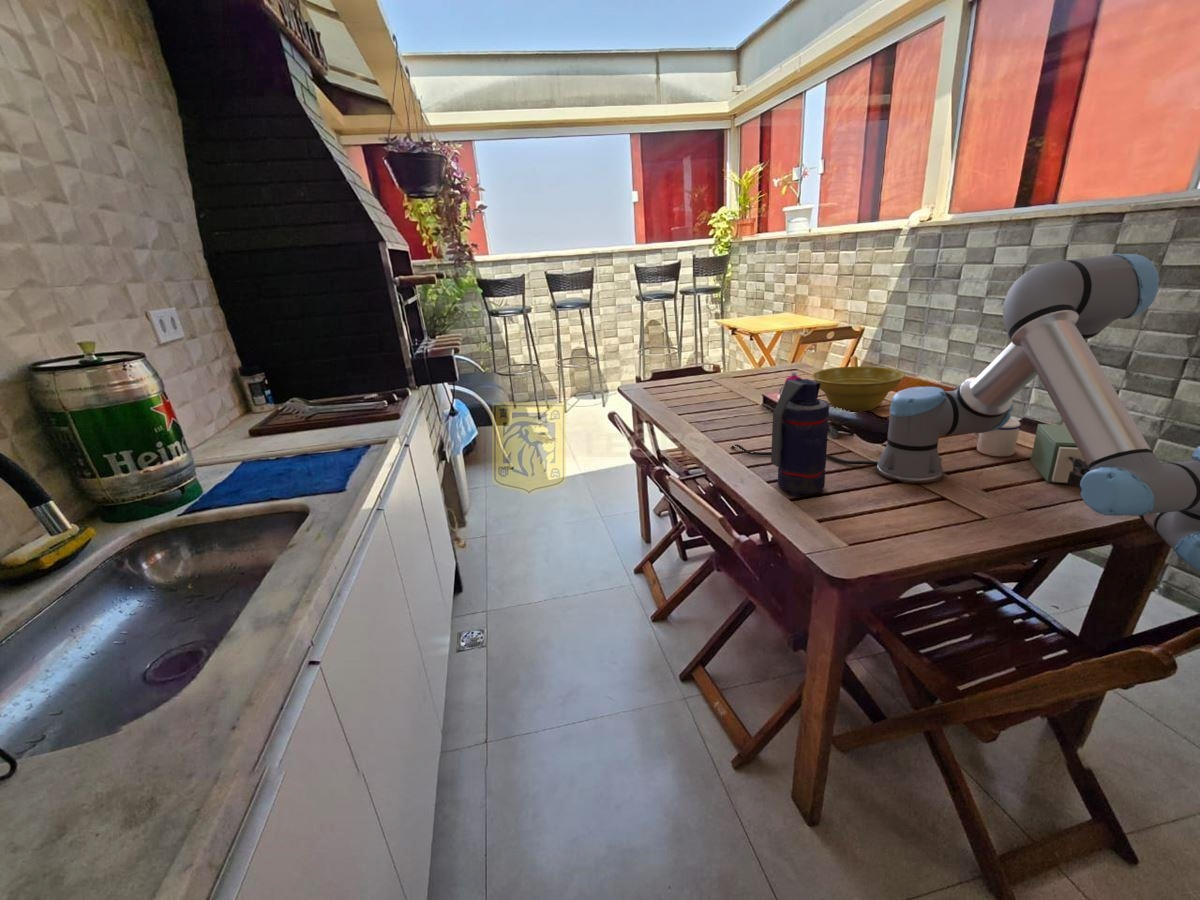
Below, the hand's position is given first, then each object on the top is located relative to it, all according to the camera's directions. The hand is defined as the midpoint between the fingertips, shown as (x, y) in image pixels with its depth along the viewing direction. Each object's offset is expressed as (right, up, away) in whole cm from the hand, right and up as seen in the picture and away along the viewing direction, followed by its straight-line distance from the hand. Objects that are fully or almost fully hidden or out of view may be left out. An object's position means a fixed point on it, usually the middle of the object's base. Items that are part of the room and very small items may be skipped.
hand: (1118, 466), depth 103 cm
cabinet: (+11, -2, +22) cm, 25 cm away
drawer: (+9, -3, +18) cm, 20 cm away
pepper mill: (-39, +22, +75) cm, 88 cm away
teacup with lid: (+5, +3, +40) cm, 41 cm away
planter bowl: (-9, +20, +91) cm, 94 cm away
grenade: (-56, -7, +30) cm, 64 cm away
